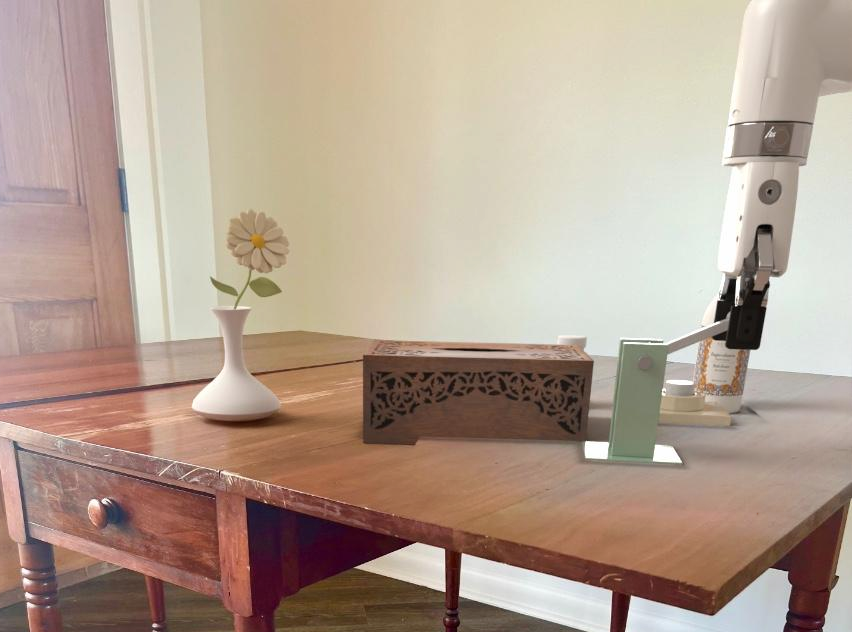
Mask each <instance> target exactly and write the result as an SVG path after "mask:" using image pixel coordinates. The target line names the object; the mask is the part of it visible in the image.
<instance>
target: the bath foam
mask: <svg viewBox="0 0 852 632" xmlns="http://www.w3.org/2000/svg"><path fill="white" fill-rule="evenodd" d="M717 300H719V292H718V293H717V294H716V295H715V297H713V299H712V300H711V302H710V303H709V305H708V306H707V308H706V310H705V312H704V314H703V317H702V321H701V324H700V329H702V328H704V327H707V326H709V325H712V324H714V318H715V312H716V305H717ZM721 301H724V300H721ZM725 342H726V341H716V340H713V339H712V337H710V338H707V339H705V340H702V341H700V342H698V343H697V352H696V358H695V363H694V371H693V379H692V382H694V383H695V386H694V391H698V392H702V393H704V394H705V395H706V396H705V401H707V402H718V403H719V404H720V405H721V406H722V407H723V408H724V409H725V410H726V411H727V412H728V413H729V414H730V415H732V414H736V413H739V411H740V410H741V406H742V401H743V395H744V392H745V391H744V390H745V385H746V378H747V372H748V366H749V361H750V355H751V350H740V349H728V348H726V346H725Z"/></svg>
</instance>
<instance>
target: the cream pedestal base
mask: <svg viewBox="0 0 852 632" xmlns="http://www.w3.org/2000/svg"><path fill="white" fill-rule="evenodd" d="M705 396H706V395H705V394H704V393H702V392H698V391H694V393H693V395H691V396H678V395H669V394H665V388H663V391H662V399H661V406H660V414H659V421H658V424H659V423H660V424H679V425H680V424H681V425H682V424H683V425H685V424H686V425H705V426H706V425H707V426H725V427H726V426H728V427H730V426H731V424H732V417H733V416H732V414H729V413H728V412H727V411H726V410H725V409H724V408H723V407H722V406H721V405H720V404H719V403H718V402H707V401H705Z"/></svg>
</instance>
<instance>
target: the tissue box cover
mask: <svg viewBox="0 0 852 632" xmlns="http://www.w3.org/2000/svg"><path fill="white" fill-rule="evenodd" d="M585 352H586V351H585V350H584V351H583V350H582V349H581V348H580V347H579V346H578V345H557V343H556V344H555V343H554V344H553V343H551V344H550V343H513V342H512V343H510V342H509V343H508V342H473V341H472V342H471V341H469V342H467V341H435V340H433V341H431V340H430V341H429V340H428V341H427V340H390V339H389V340H388V339H374V340H373V341H372V343H370V345H369V346H368V348H367V349H366V351H364V353H363V354H362V443H363V444H383V445H385V444H386V445H411V446H412V445H415V446H416V444H417V442H418V441H419V439H420V438H421V437H423V438H425V437H427V438H455V439H456V438H457V439H488V440H489V439H492V440H522V441H523V440H526V441H555V442H556V441H557V442H561V441H562V442H582V441H587V435H588V433H587V432H588V424H589V412H590V405H591V404H590V403H591V393H592V384H593V374H594V365H595V360H594V359H593V358H592V357H591V356H590V355H589V354H588V353H587V352H586V353H587V354H588V355H589V356H588V355H587V354H586V353H585Z"/></svg>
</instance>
